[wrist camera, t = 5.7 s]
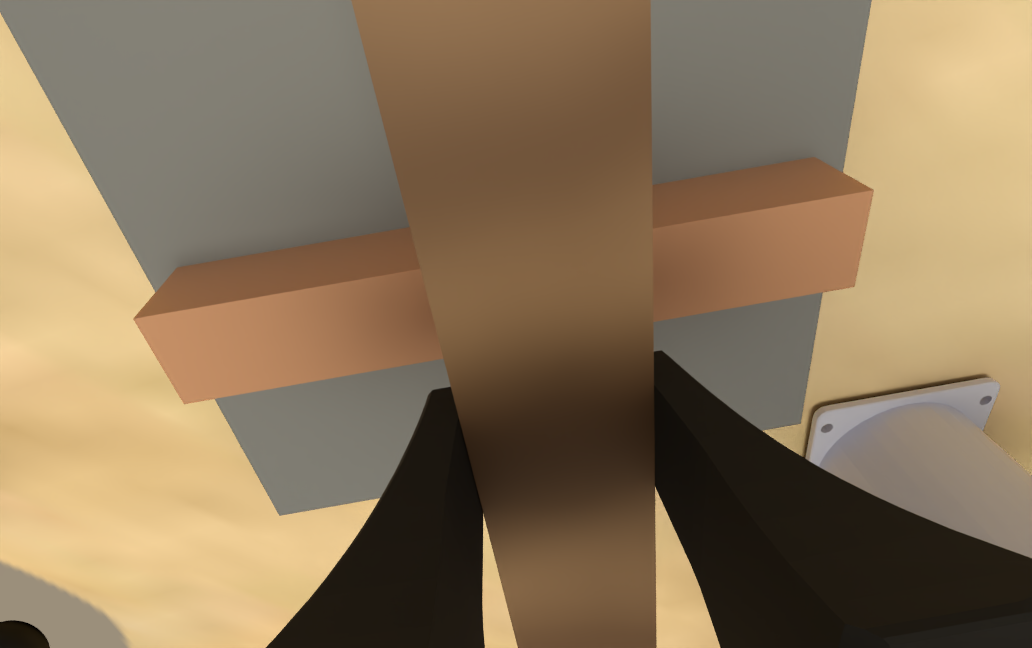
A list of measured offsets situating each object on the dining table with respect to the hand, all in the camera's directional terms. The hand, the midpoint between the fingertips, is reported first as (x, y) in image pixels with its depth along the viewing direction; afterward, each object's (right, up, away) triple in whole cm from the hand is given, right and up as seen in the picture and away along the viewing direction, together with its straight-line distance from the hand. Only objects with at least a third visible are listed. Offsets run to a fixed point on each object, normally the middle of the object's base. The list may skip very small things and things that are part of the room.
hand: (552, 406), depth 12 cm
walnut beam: (0, +2, +3) cm, 4 cm away
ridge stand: (-1, +5, +7) cm, 9 cm away
